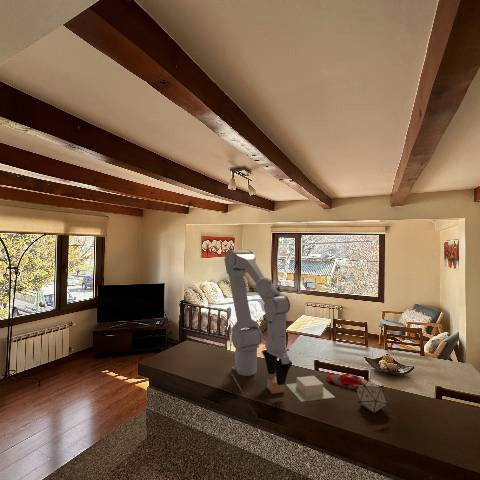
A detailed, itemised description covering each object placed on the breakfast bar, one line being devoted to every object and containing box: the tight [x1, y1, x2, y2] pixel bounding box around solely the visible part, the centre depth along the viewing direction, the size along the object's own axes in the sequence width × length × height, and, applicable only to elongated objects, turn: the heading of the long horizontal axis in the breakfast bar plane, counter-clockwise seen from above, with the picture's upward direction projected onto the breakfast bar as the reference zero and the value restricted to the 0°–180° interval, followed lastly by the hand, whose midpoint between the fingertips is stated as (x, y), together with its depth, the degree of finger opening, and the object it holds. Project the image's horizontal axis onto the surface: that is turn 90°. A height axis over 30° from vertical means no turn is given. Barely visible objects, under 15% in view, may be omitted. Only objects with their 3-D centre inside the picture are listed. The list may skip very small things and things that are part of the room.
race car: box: [325, 373, 368, 390], centre depth 98 cm, size 13×5×4 cm, turn 59°
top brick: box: [266, 376, 285, 394], centre depth 93 cm, size 4×4×4 cm
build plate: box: [285, 382, 336, 403], centre depth 93 cm, size 11×11×1 cm
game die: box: [353, 376, 391, 414], centre depth 83 cm, size 9×8×10 cm
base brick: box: [295, 375, 324, 396], centre depth 93 cm, size 6×6×3 cm
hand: (276, 378), depth 93 cm, fingers open, 7 cm apart
